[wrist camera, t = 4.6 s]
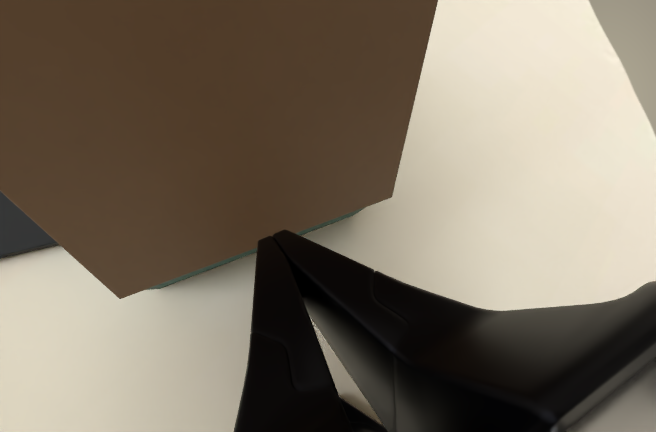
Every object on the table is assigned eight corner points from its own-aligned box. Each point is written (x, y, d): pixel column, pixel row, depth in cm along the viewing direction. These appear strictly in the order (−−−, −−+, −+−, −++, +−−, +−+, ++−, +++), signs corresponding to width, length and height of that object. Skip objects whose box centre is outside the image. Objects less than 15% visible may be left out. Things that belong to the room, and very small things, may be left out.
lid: (-299, -118, 5) (-335, -109, 4) (451, -144, 9) (472, -142, 8) (118, 284, 14) (119, 299, 14) (384, 187, 18) (392, 197, 18)
